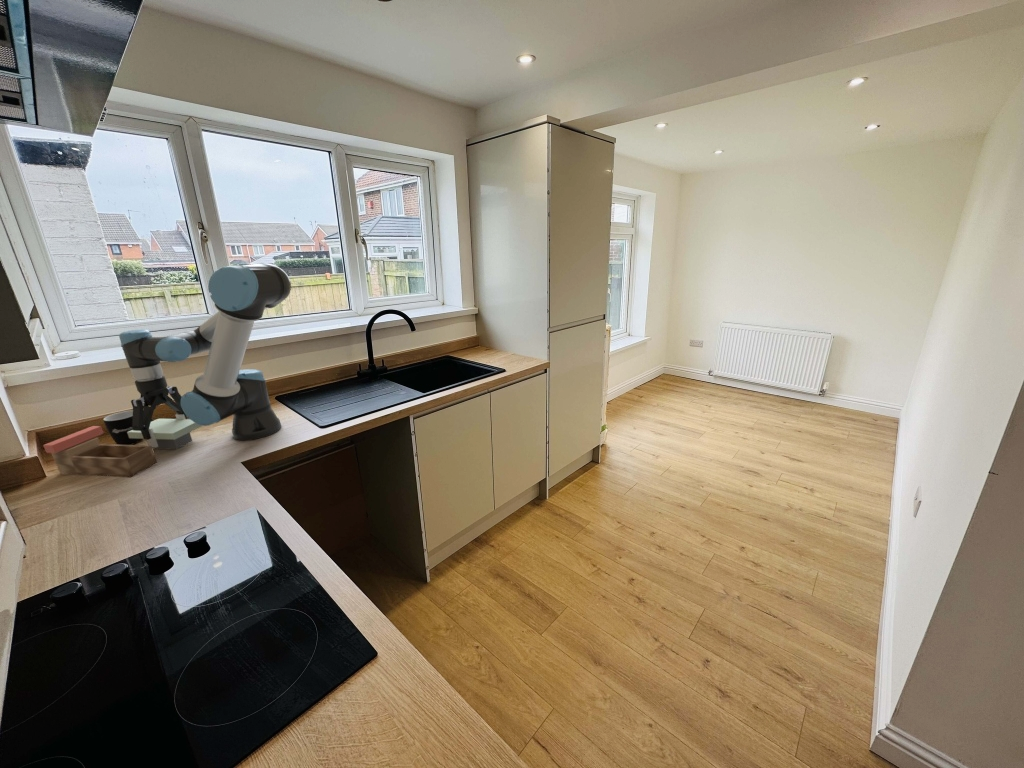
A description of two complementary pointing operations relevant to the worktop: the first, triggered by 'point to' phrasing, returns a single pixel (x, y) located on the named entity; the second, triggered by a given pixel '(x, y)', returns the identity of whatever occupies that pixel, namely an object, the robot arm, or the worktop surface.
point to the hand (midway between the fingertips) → (170, 438)
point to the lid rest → (174, 442)
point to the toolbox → (104, 459)
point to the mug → (121, 427)
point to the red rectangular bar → (73, 439)
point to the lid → (168, 428)
